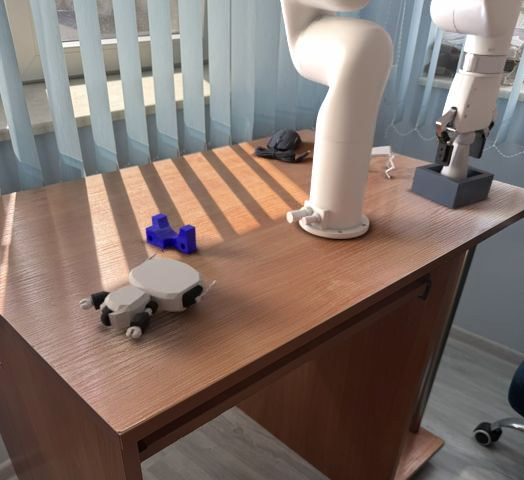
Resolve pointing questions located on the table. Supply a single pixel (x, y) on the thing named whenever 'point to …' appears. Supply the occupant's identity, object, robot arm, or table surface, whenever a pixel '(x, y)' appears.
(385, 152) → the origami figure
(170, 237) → the cable holder
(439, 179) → the holder
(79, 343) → the table surface
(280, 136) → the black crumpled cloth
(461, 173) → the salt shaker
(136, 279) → the robot toy
